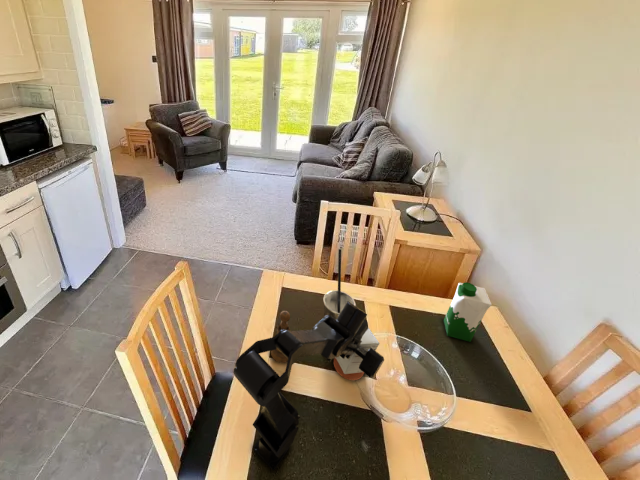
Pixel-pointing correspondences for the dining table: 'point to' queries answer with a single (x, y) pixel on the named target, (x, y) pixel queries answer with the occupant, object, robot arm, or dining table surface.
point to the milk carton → (466, 311)
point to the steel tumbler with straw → (336, 296)
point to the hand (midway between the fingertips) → (356, 345)
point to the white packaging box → (355, 360)
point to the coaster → (347, 376)
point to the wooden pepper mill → (284, 317)
